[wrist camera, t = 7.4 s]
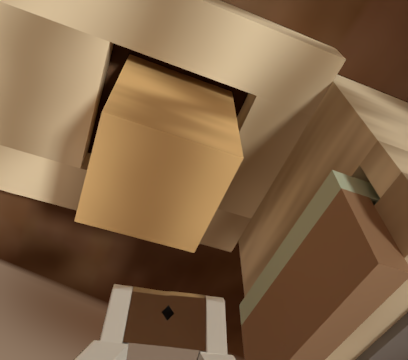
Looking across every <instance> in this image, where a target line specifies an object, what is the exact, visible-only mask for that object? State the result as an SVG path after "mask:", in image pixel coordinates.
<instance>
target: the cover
mask: <svg viewBox="0 0 408 360" xmlns="http://www.w3.org/2000/svg"><path fill="white" fill-rule="evenodd" d="M379 199H380V197H379V196H378V194H377V192H376V191H375V189H374V187H373V186H372V184H371V183H369V182H366V181H364V180H361V179H358V178H355V177H352V176H349V175H346V174H343V173H340V172H337V171H334V170H332V171H331V172H330V174H329V175H328V177H327V178H326V179H325V181H324V182H323V184H322V185H321V187H320V188H319V190H318V191H317V193H316V194H315V196H314V197H313V198H312V200H311V201H310V203H309V204H308V206H307V207H306V209H305V210H304V212H303V213H302V214H301V216H300V217H299V219H298V220H297V222H296V223H295V225H294V226H293V228H292V229H291V230H290V232H289V233H288V235H287V236H286V238H285V239H284V241H283V242H282V244H281V245H280V246H279V248H278V249H277V251H276V252H275V254H274V255H273V257H272V258H271V260H270V261H269V262H268V264H267V265H266V267H265V268H264V270H263V271H262V273H261V274H260V276H259V277H258V278H257V280H256V281H255V283H254V284H253V286H252V287H251V289H250V290H249V292H248V293H247V294H246V296H245V297H244V299H243V300H242V302H241V303H240V305H239V308H240V319H241V330H242V340H243V351H244V360H325V359H326V358H327V357H328V356H329V355H330V354H331V353H332V352H333V351H334V350H335V349H337V348H338V347H339V346H340V345H341V344H342V343H343V342H344V341H345V340H346V339H347V338H348V337H349V336H350V335H351V334H352V333H353V332H354V331H355V330H356V329H357V328H358V327H359V326H360V325H361V324H362V323H363V322H364V321H365V320H366V319H367V318H368V317H369V316H370V315H371V314H372V313H373V312H374V311H375V310H376V309H377V308H379V307H380V306H381V305H382V304H383V303H384V302H385V301H386V300H387V299H388V298H389V297H390V296H391V295H392V294H393V293H394V292H395V291H396V290H397V289H398V288H399V287H400V286H401V285H402V284H403V283H404V282H405V281H406V280H407V279H408V263H407V262H406V260H405V258H404V257H403V255H402V253H401V251H400V250H399V248H398V246H397V244H396V243H395V241H394V239H393V238H392V236H391V234H390V232H389V231H388V229H387V227H386V225H385V224H384V222H383V220H382V219H381V217H380V215H379V213H378V212H377V210H376V208H375V206H374V205H375V204H376V203H377V202H378V200H379Z"/></svg>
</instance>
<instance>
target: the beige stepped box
mask: <svg viewBox="0 0 408 360" xmlns="http://www.w3.org/2000/svg"><path fill="white" fill-rule="evenodd" d="M114 44H117V45H120V46H123V47H125V48H128V49H131V50H133V51H136V52H139V53H142V54H144V55H147V56H150V57H152V58H155V59H158V60H161V61H163V62H166V63H169V64H171V65H174V66H177V67H180V68H182V69H185V70H188V71H190V72H193V73H196V74H199V75H201V76H204V77H207V78H210V79H212V80H215V81H218V82H220V83H223V84H226V85H229V86H231V87H234V88H237V89H239V90H242V91H245V92H248V95H247V97H246V99H245V102H244V104H243V106H242V108H241V110H240V112H239V114H238V116H237V123H238V129H239V134H240V140H241V146H242V152H243V157H244V159H243V160H242V162H241V164H240V166H239V168H238V170H237V172H236V174H235V176H234V178H233V180H232V182H231V183H230V185H229V187H228V189H227V191H226V193H225V195H224V197H223V199H222V201H221V203H220V205H219V206H218V208H217V210H216V212H215V214H214V216H213V218H212V220H211V222H210V224H209V226H208V228H207V230H206V231H205V233H204V235H203V237H202V239H201V241H200V243H199V244H202V245H206V246H210V247H214V248H217V249H221V250H225V251H228V252H232V250H233V249H234V247H235V245H236V244H237V242H239V251H240V260H241V269H242V278H243V288H244V297H245V296H246V294H247V293H248V292H249V290H250V289H251V287H252V286H253V284H254V283H255V281H256V280H257V278H258V277H259V276H260V274H261V273H262V271H263V270H264V268H265V267H266V265H267V264H268V262H269V261H270V260H271V258H272V257H273V255H274V254H275V252H276V251H277V249H278V248H279V246H280V245H281V244H282V242H283V241H284V239H285V238H286V236H287V235H288V233H289V232H290V230H291V229H292V228H293V226H294V225H295V223H296V222H297V220H298V219H299V217H300V216H301V214H302V213H303V212H304V210H305V209H306V207H307V206H308V204H309V203H310V201H311V200H312V198H313V197H314V196H315V194H316V193H317V191H318V190H319V188H320V187H321V185H322V184H323V182H324V181H325V179H326V178H327V177H328V175H329V174H330V172H331V171H332V170H334V171H337V172H340V173H343V174H346V175H349V176H352V177H355V178H358V179H361V180H364V181H366V182H369V183H371V184H372V186H373V187H374V189H375V191H376V192H377V194H378V196H379V197H380V199H379V200H378V202H377V203H376V204H375V205H374V206H375V208H376V210H377V212H378V213H379V215H380V217H381V219H382V220H383V222H384V224H385V225H386V227H387V229H388V231H389V232H390V234H391V236H392V238H393V239H394V241H395V243H396V244H397V246H398V248H399V250H400V251H401V253H402V255H403V257H404V258H405V260H406V262H407V263H408V103H407V102H405V101H402V100H400V99H397V98H395V97H392V96H390V95H387V94H385V93H382V92H380V91H377V90H375V89H372V88H370V87H367V86H365V85H362V84H360V83H357V82H355V81H352V80H350V79H347V78H345V77H342V76H340V75H337V74H338V72H339V70H340V69H341V67H342V65H343V64H344V62H345V60H346V59H345V58H344V57H343V56H342V55H341V54H340V53H339V51H338V50H337V49H336V48H333V47H331V46H328V45H326V44H324V43H321V42H319V41H316V40H314V39H312V38H309V37H307V36H304V35H302V34H300V33H297V32H295V31H292V30H290V29H288V28H285V27H283V26H280V25H278V24H276V23H273V22H271V21H268V20H266V19H264V18H261V17H259V16H256V15H254V14H252V13H249V12H247V11H244V10H242V9H240V8H237V7H235V6H232V5H230V4H228V3H225V2H223V1H220V0H0V190H2V191H6V192H10V193H14V194H17V195H21V196H25V197H28V198H32V199H36V200H39V201H43V202H47V203H51V204H54V205H58V206H62V207H65V208H69V209H73V210H76V211H77V208H78V204H79V200H80V196H81V192H82V188H83V184H84V181H85V177H86V173H87V169H88V165H89V161H90V157H91V153H88V149H89V145H90V141H91V137H92V132H93V128H94V124H95V120H96V116H97V112H98V107H99V103H100V99H101V95H102V91H103V87H104V83H105V78H106V74H107V70H108V66H109V62H110V58H111V53H112V49H113V45H114ZM325 360H408V279H407V280H406V281H405V282H404V283H403V284H402V285H401V286H400V287H399V288H398V289H397V290H396V291H395V292H394V293H393V294H392V295H391V296H390V297H389V298H388V299H387V300H386V301H385V302H384V303H383V304H382V305H381V306H380V307H379V308H377V309H376V310H375V311H374V312H373V313H372V314H371V315H370V316H369V317H368V318H367V319H366V320H365V321H364V322H363V323H362V324H361V325H360V326H359V327H358V328H357V329H356V330H355V331H354V332H353V333H352V334H351V335H350V336H349V337H348V338H347V339H346V340H345V341H344V342H343V343H342V344H341V345H340V346H339V347H338V348H337V349H335V350H334V351H333V352H332V353H331V354H330V355H329V356H328V357H327V358H326V359H325Z"/></svg>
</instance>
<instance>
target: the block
mask: <svg viewBox="0 0 408 360" xmlns="http://www.w3.org/2000/svg"><path fill="white" fill-rule="evenodd" d="M243 159H244V157H243V152H242V146H241V140H240V134H239V129H238V123H237V117H236V111H235V106H234V100H233V94H232V92H231V91H229V90H226V89H223V88H220V87H218V86H215V85H212V84H210V83H207V82H204V81H201V80H199V79H196V78H193V77H191V76H188V75H185V74H183V73H180V72H177V71H174V70H172V69H169V68H166V67H164V66H161V65H158V64H155V63H153V62H150V61H147V60H145V59H142V58H139V57H136V56H134V55H131V54H129V56H128V58H127V60H126V63H125V65H124V67H123V69H122V71H121V73H120V75H119V77H118V79H117V81H116V83H115V85H114V87H113V89H112V92H111V94H110V96H109V98H108V100H107V102H106V104H105V106H104V108H103V110H102V113H101V117H100V121H99V125H98V129H97V133H96V137H95V141H94V145H93V149H92V153H91V157H90V161H89V165H88V169H87V173H86V177H85V181H84V184H83V188H82V192H81V196H80V200H79V204H78V208H77V212H76V216H75V220H74V221H75V222H79V223H82V224H86V225H90V226H94V227H98V228H101V229H105V230H109V231H113V232H116V233H120V234H124V235H128V236H132V237H135V238H139V239H143V240H147V241H151V242H154V243H158V244H162V245H166V246H170V247H173V248H177V249H181V250H185V251H188V252H192V253H195V251H196V249H197V247H198V245H199V243H200V241H201V239H202V237H203V235H204V233H205V231H206V230H207V228H208V226H209V224H210V222H211V220H212V218H213V216H214V214H215V212H216V210H217V208H218V206H219V205H220V203H221V201H222V199H223V197H224V195H225V193H226V191H227V189H228V187H229V185H230V183H231V182H232V180H233V178H234V176H235V174H236V172H237V170H238V168H239V166H240V164H241V162H242V160H243Z"/></svg>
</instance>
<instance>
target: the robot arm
mask: <svg viewBox="0 0 408 360" xmlns="http://www.w3.org/2000/svg"><path fill="white" fill-rule="evenodd" d="M74 360H236V359H235V357H234V356H233V355H228V353H227V333H226V313H225V301H224V298H222V297H213V296H205V295H201V294H191V293H182V292H173V291H169V292H167V291H160V290H153V289H147V288H140V287H133V286H126V285H119V284H114V286H113V288H112V292H111V296H110V300H109V304H108V308H107V312H106V316H105V320H104V324H103V328H102V332H101V336H100V340H93V341H92V342H91V343H90V344H89V345H88V346H87V347H86V348H85V349H84V350H83V351H82V352H81V353H80V354H79V355H78V356H77V357H76V358H75V359H74Z"/></svg>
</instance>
